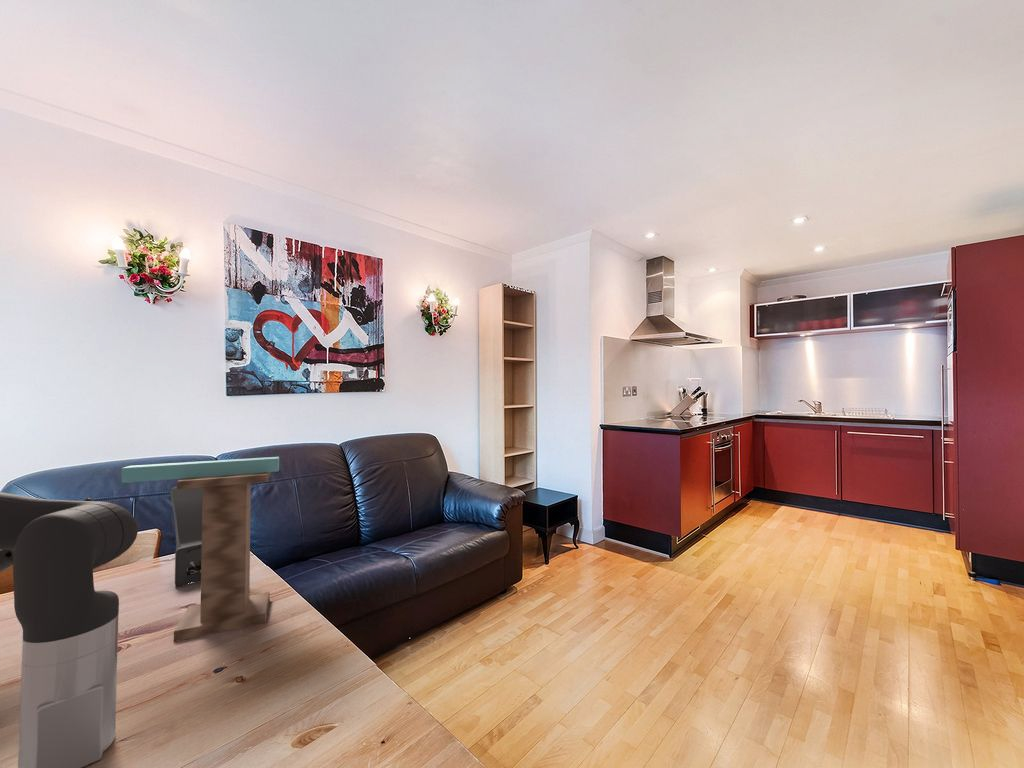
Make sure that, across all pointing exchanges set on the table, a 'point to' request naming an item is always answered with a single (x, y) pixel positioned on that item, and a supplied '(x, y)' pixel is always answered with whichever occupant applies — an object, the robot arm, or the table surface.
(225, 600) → the walnut stand
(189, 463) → the teal bar
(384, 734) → the table surface
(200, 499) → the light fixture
